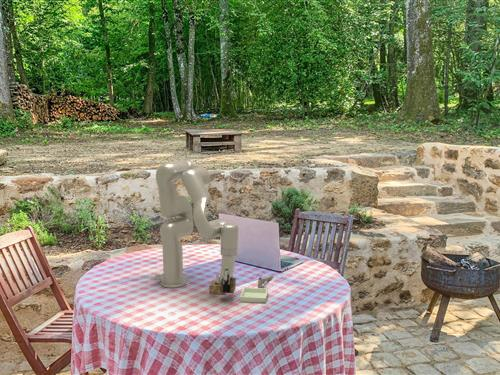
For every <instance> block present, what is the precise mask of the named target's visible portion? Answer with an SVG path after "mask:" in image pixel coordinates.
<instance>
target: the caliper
mask: <svg viewBox="0 0 500 375" xmlns="http://www.w3.org/2000/svg"><path fill="white" fill-rule="evenodd" d="M272 279H274V275H269V276H266V277H262V276H259V277H258V281H257V288H263V285H264V284H265V283H266V282H268V281H270V280H272Z"/></svg>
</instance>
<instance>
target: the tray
mask: <svg viewBox="0 0 500 375" xmlns="http://www.w3.org/2000/svg"><path fill="white" fill-rule="evenodd" d="M268 297H269V288H265V287H264V288H263V287H262V288H258V287H244V286H243V288H242V291H241V293H240V295H239V303H245V304H246V303H248V304H249V303H250V304H265V305H266V303H267V300H268Z"/></svg>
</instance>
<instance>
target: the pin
mask: <svg viewBox="0 0 500 375" xmlns="http://www.w3.org/2000/svg"><path fill="white" fill-rule="evenodd" d="M215 276H216V278H215V280H216V284H217V285H220V281H221V279H222V277H221V273H218V274H216V275H215Z"/></svg>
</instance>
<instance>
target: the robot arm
mask: <svg viewBox="0 0 500 375" xmlns="http://www.w3.org/2000/svg"><path fill="white" fill-rule="evenodd" d="M176 180H181V182H182V184H183V186H184V188H185V190H186V192H187V193H188V196H189V198H190V199H191V201H192V202H191V201H190V199H189V198H188V197H187V196H185V195H178V188H177V187H176V184H175V183H174V182H173V181H176ZM155 181H156V184H157V185H156V186H157V188H158V189H157V190H158V197H159V206H160V212H161V215H162V217H164V218H166V219H169V218H171V220H168V221H165V222H163V223H162V224H161V226H160V228H159V234H160V238H161V245H162V265H163V266H162V268H163V269H162V270H163V272H162V274H160V273H159V274H157V273H156V274H155V276H154V278H155V279H156V280H161V281H160V283H159V284H160V286H161V287H164V288H167V289H168V288H171V289H174V288H181V287H183V286H185V285H186V284H187V279H186V278H184V260H183V259H184V256H183V252H184V251H183V245H182V243H181V242H180V239H182V238H185V237H188V236H190V235H191V234H192V233H193V231H194V226H195V227H196V229H197V231H198V233H199V235H200V236H201V238H203V239H204V240H212V239H214V238H218V237H220V252H219V253H220V256H221V263H220V274H221V278H223V277H224V280H223V292H228V293H227V294H230V278H234V277H233V276H234V272H235V265H236V256H238V248H239V247H238V246H239V245H238V244H239V225H238V224H237V223H235V222H229V221H227V220H225V219H224V218H223V219H222V218H217V219H214V220H210V221H208V218H207V217H206V213H205V207H206V204H208V202H209V201H210V200H211V199H212V196H211V194H210V192H209V190H208V188H207V186H206V185H207V184H209V183H210V181H211V174H210V172H209V171H208V169H207V168H205V167H204V166H202V165H198V164H197V163H194V162H192V161H190V160H179V161H178V160H177V161H171V162H166V163H162V164H160V165H159V167H158V168H157V169H156V172H155ZM191 203H192V204H193V209H192V204H191ZM175 217H177V218H175ZM173 218H175V219H173ZM227 278H229V280H227Z"/></svg>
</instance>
